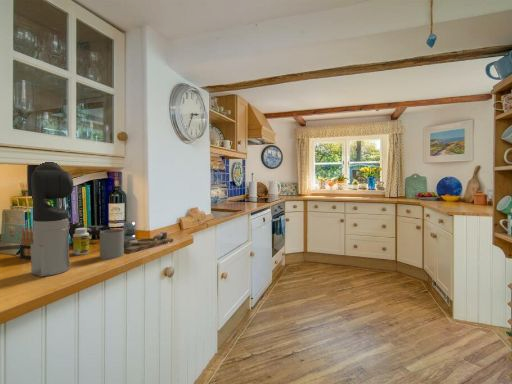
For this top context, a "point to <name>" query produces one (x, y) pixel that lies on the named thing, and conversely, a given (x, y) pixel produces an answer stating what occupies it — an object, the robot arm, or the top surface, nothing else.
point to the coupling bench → (146, 243)
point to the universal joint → (129, 231)
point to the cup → (111, 243)
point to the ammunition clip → (26, 243)
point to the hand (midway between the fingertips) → (105, 230)
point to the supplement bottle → (80, 241)
